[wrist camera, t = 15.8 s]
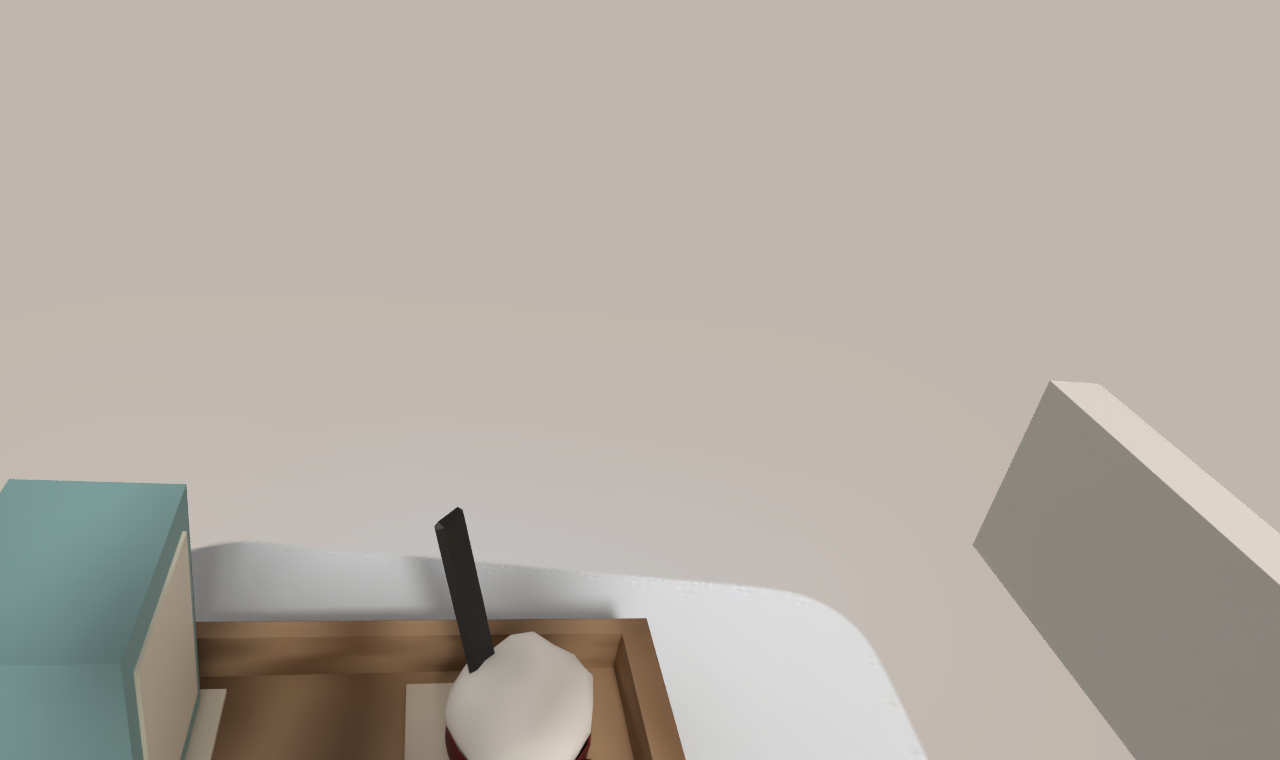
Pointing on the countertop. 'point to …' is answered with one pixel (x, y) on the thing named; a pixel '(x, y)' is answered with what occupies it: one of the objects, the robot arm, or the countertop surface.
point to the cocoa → (508, 678)
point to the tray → (402, 688)
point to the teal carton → (96, 621)
